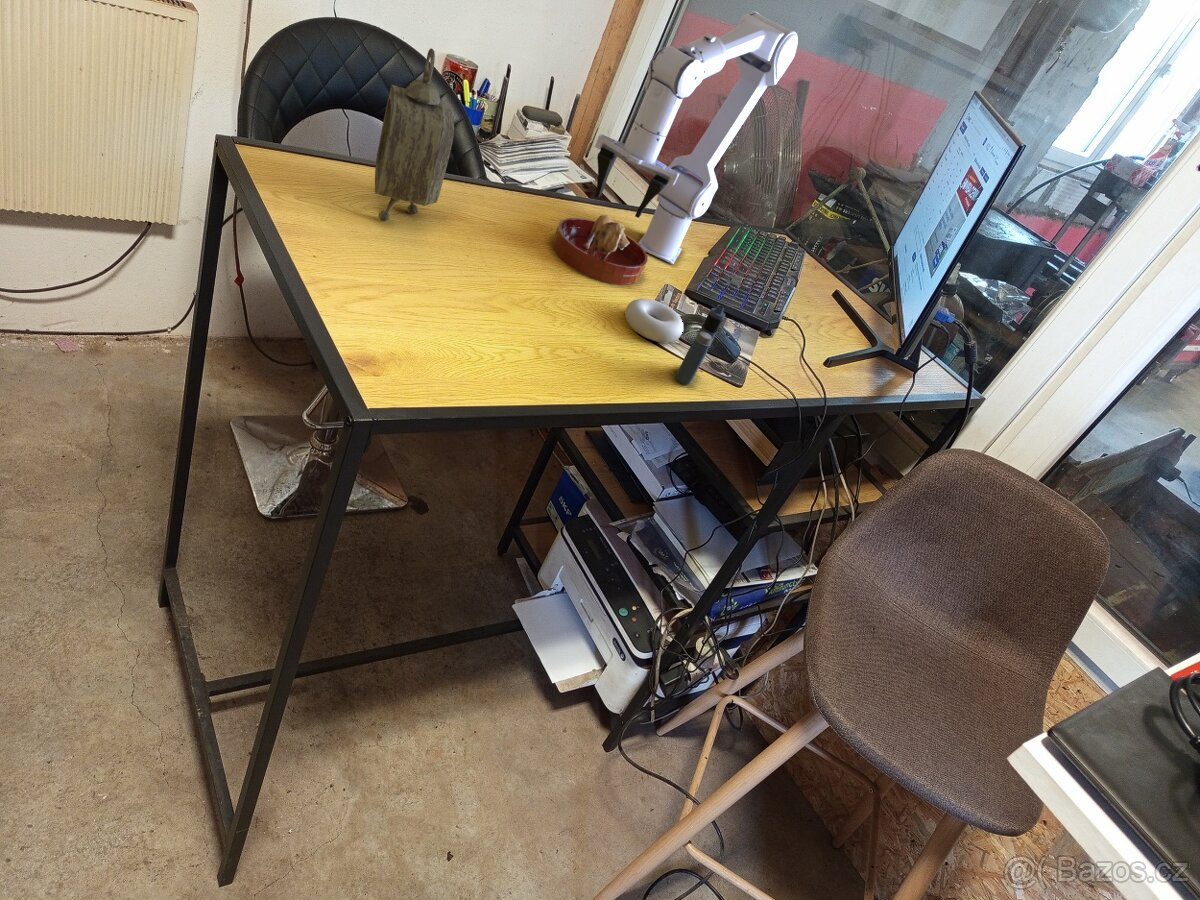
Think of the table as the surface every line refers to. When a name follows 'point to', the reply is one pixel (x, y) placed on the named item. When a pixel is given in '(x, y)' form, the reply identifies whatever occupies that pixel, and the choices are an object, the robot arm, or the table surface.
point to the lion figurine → (606, 237)
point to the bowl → (597, 254)
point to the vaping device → (700, 345)
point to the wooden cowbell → (414, 144)
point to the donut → (654, 320)
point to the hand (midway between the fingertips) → (617, 205)
